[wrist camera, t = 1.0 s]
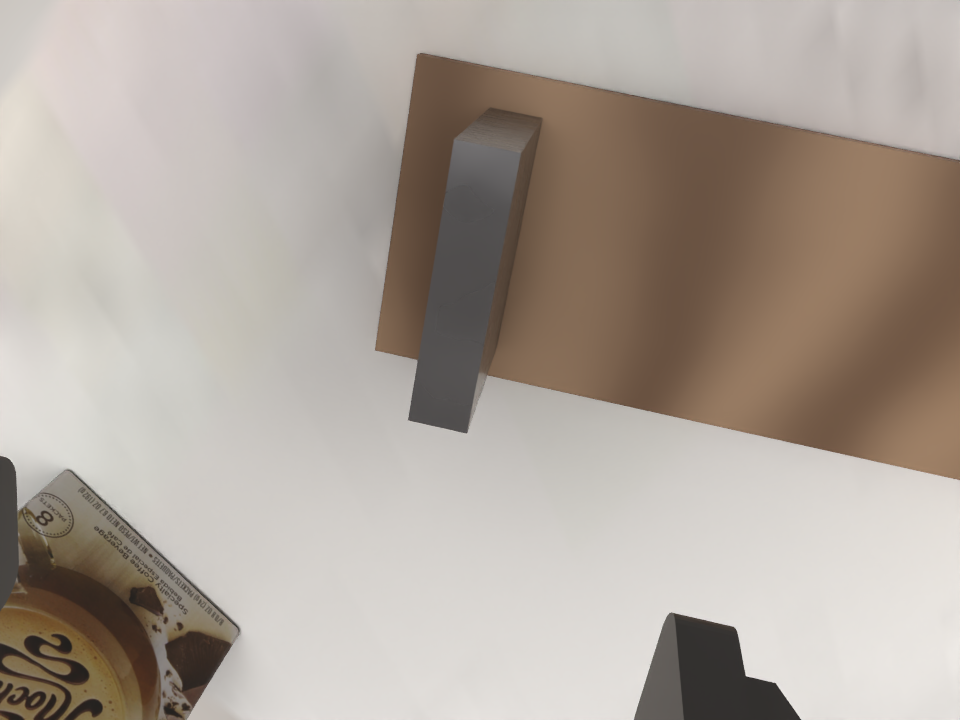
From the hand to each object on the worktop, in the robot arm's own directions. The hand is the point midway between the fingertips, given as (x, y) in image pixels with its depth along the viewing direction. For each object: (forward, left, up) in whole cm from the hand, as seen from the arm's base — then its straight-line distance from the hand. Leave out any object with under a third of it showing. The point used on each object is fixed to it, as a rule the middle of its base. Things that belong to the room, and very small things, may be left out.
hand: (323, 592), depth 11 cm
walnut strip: (0, +12, -18) cm, 22 cm away
